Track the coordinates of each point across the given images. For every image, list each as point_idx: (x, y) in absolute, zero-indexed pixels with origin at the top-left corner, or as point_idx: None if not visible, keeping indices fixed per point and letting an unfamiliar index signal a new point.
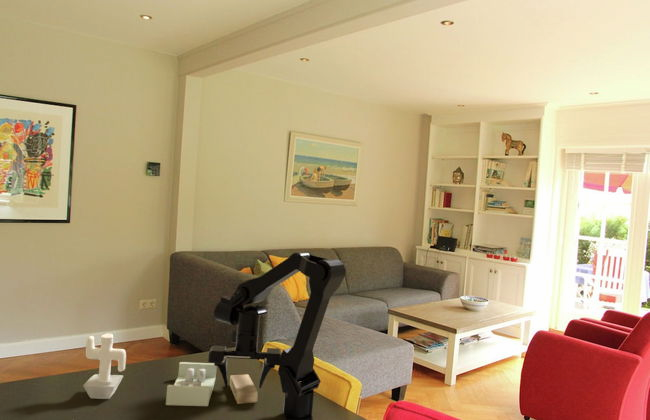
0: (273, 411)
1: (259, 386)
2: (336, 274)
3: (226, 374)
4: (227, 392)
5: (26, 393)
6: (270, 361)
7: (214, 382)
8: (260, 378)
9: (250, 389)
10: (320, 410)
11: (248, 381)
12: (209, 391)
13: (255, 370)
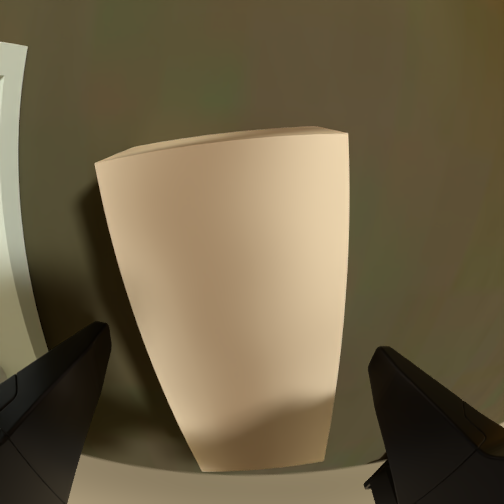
0: (353, 456)
1: (372, 386)
2: None
3: (74, 471)
4: (128, 302)
5: None
6: None
7: (17, 117)
8: (397, 432)
9: (287, 446)
10: (489, 417)
11: (305, 344)
12: (24, 346)
13: None
